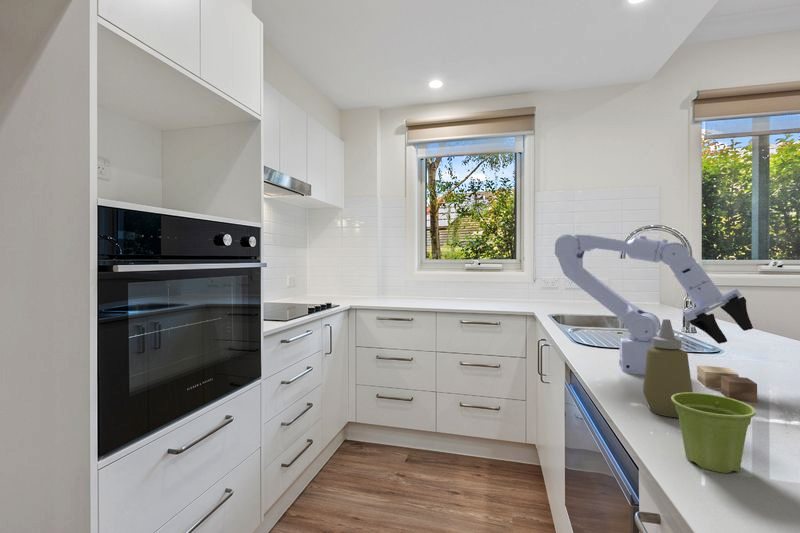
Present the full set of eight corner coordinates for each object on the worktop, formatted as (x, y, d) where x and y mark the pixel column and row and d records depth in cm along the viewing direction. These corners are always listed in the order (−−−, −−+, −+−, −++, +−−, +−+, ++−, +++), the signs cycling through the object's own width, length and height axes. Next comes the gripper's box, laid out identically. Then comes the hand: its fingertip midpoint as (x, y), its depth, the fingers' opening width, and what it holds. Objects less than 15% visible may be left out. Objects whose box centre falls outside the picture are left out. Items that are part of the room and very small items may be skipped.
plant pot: (765, 488, 49) (764, 420, 49) (674, 468, 54) (673, 407, 54) (747, 457, 57) (746, 398, 57) (669, 442, 62) (669, 388, 62)
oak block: (705, 387, 87) (705, 371, 87) (697, 379, 92) (697, 365, 92) (738, 390, 84) (738, 374, 84) (728, 382, 90) (728, 367, 90)
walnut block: (729, 403, 79) (728, 381, 79) (721, 396, 83) (720, 375, 83) (757, 406, 77) (757, 383, 77) (747, 399, 81) (747, 377, 81)
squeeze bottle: (687, 408, 76) (686, 317, 76) (699, 423, 69) (698, 323, 69) (640, 402, 79) (638, 316, 79) (646, 416, 72) (645, 321, 72)
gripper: (685, 292, 89) (725, 345, 85) (734, 268, 91) (775, 319, 87) (665, 300, 96) (701, 350, 91) (712, 278, 98) (748, 326, 93)
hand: (735, 336), depth 89 cm, fingers open, 7 cm apart
